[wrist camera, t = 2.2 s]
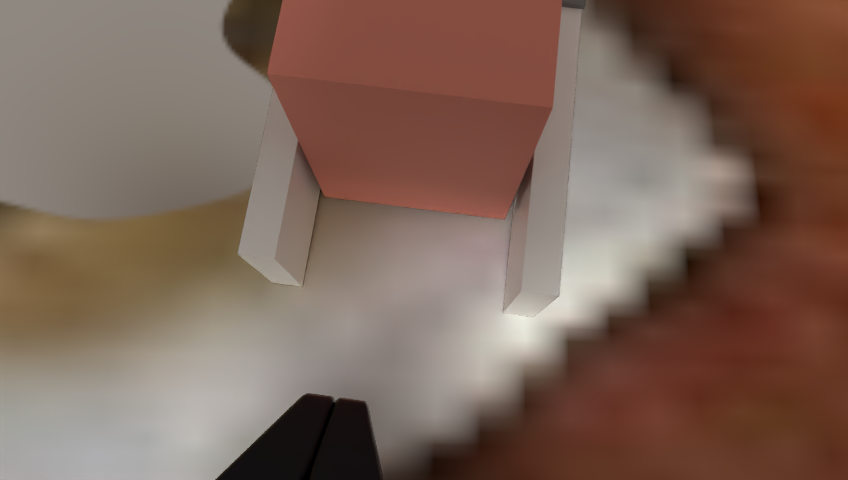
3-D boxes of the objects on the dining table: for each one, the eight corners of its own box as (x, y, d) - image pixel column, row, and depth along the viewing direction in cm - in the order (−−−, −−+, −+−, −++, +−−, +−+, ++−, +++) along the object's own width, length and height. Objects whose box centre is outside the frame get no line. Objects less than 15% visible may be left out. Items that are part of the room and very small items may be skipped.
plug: (504, 219, 21) (552, 107, 13) (324, 196, 21) (266, 73, 13) (521, 58, 22) (573, -128, 15) (353, 38, 22) (316, -156, 15)
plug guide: (535, 317, 20) (562, 295, 16) (270, 282, 21) (233, 252, 17) (575, -147, 25) (605, -254, 21) (360, -170, 25) (348, -280, 21)
